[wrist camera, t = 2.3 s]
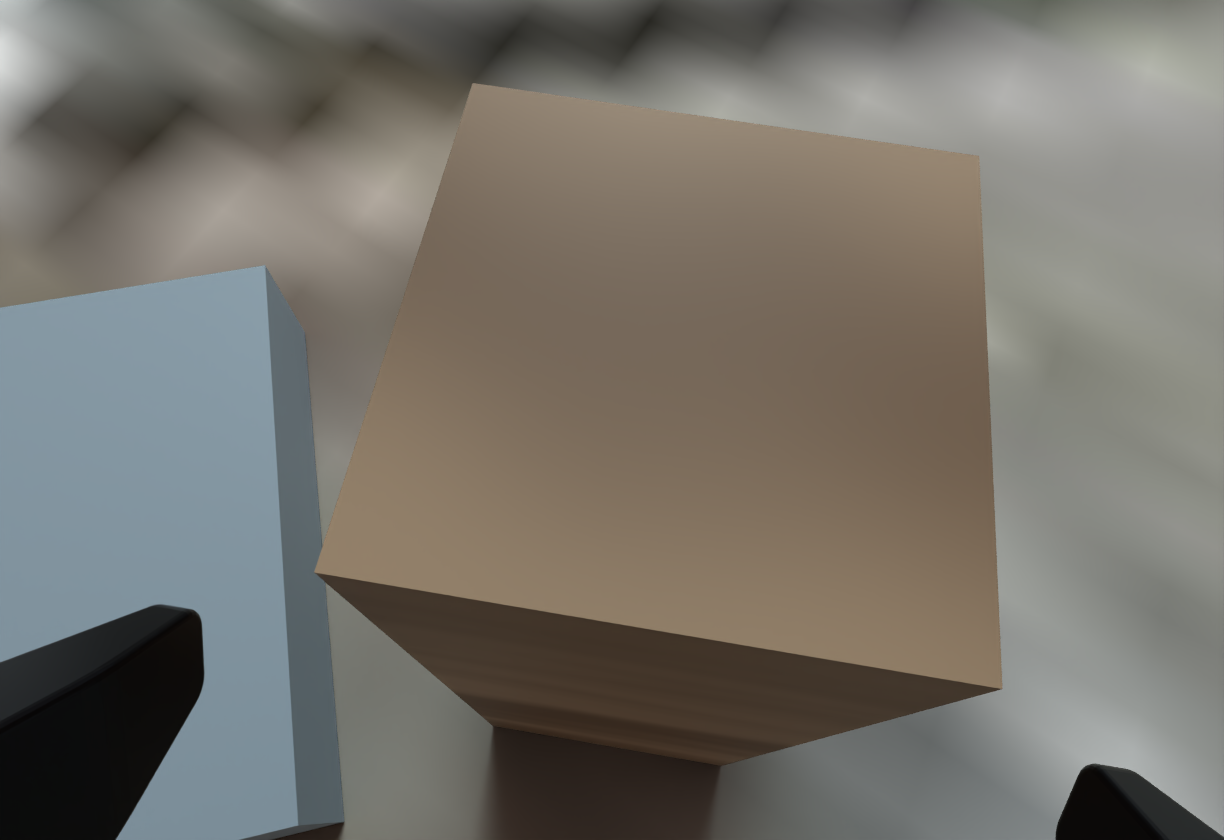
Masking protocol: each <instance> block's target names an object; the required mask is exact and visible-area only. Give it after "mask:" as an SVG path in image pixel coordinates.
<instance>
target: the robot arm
mask: <svg viewBox="0 0 1224 840" xmlns="http://www.w3.org/2000/svg"><path fill="white" fill-rule="evenodd" d="M204 674H205V672H204V652H203V631H202V621H201V618H200V615H199V614H198V613H197V612H196V611H195V610H193V609H189V608H183V607H177V606H171V605H165V604H156V605H152V606H149V607H147V608H144V609H141V610H139V611H136V612H133V613H131V614H128V615H125V616H123V617H120V618H117V619H115V620H112V621H109V622H107V623H104V624H101V625H99V626H96V627H93V628H91V629H88V630H85V631H83V632H80V633H77V634H75V635H72V636H69V637H66V638H64V639H61V640H58V641H56V642H53V643H50V644H48V645H45V646H42V647H40V648H37V649H34V650H32V651H29V652H26V653H24V654H21V655H18V656H16V657H13V658H10V659H8V660H5V661H2V662H0V840H116V839H117V837H118V836H119V834H120V832H121V831H122V829H123V827H124V826H125V824H126V823H127V821H128V819H129V818H130V816H131V815H132V813H133V811H134V809H135V808H136V806H137V804H138V802H139V801H140V799H141V797H142V796H143V794H144V792H145V790H146V789H147V787H148V785H149V784H150V782H151V780H152V778H153V777H154V775H155V773H156V771H157V770H158V768H159V766H160V765H161V763H162V761H163V759H164V758H165V756H166V754H167V752H168V751H169V749H170V747H171V746H172V744H173V742H174V740H175V739H176V737H177V735H178V733H179V732H180V730H181V728H182V727H183V725H184V723H185V721H186V720H187V718H188V716H189V714H190V713H191V711H192V709H193V708H194V706H195V704H196V702H197V700H198V698H199V696H200V694H201V691H202V688H203V683H204ZM1056 840H1224V837H1223V836H1221V835H1220V834H1219V833H1217V832H1216V831H1215V830H1213V829H1212V828H1210V827H1209V826H1208V825H1206V824H1205V823H1204V822H1202V821H1201V820H1200V819H1198V818H1197V817H1196V816H1194V815H1193V814H1192V813H1190V812H1189V811H1187V810H1186V809H1185V808H1183V807H1182V806H1181V805H1179V804H1178V803H1177V802H1175V801H1174V800H1173V799H1171V798H1170V797H1169V796H1167V795H1166V794H1164V793H1163V792H1162V791H1160V790H1159V789H1158V788H1156V787H1155V786H1154V785H1152V784H1151V783H1150V782H1148V781H1147V780H1146V779H1144V778H1143V777H1141V776H1140V775H1139V774H1137V773H1136V772H1133V771H1131V770H1128V769H1123V768H1118V767H1112V766H1106V765H1100V764H1090V765H1087V766H1085V767H1084V768H1083V769H1082V770H1081V771H1080V773H1079V775H1078V777H1077V779H1076V782H1075V784H1074V786H1073V789H1072V791H1071V793H1070V796H1069V798H1068V800H1067V803H1066V805H1065V807H1064V810H1063V812H1062V814H1061V817H1060V819H1059V822H1058V825H1057V829H1056Z"/></svg>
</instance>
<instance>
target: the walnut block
mask: <svg viewBox="0 0 1224 840" xmlns="http://www.w3.org/2000/svg"><path fill="white" fill-rule="evenodd" d="M314 573H315V574H317V575H318V576H319V577H320V578H321V579H322V580H324V581H325V582H326V583H327V584H328V585H329V586H331V587H332V588H333V589H334V590H335V591H336V592H338V593H339V594H340V595H341V596H342V597H343V598H345V599H346V600H347V601H348V602H349V603H350V604H352V605H353V606H354V607H355V608H356V609H357V610H359V611H360V612H361V613H362V614H363V615H364V616H366V617H367V618H368V619H369V620H370V621H371V622H373V623H374V624H375V625H376V626H377V627H378V628H379V629H381V630H382V631H383V632H384V633H385V634H386V635H388V636H389V637H390V638H391V639H392V640H393V641H395V642H396V643H397V644H398V645H399V646H400V647H402V648H403V649H404V650H405V651H406V652H407V653H409V654H410V655H411V656H412V657H413V658H414V659H416V660H417V661H418V662H419V663H420V664H421V665H423V666H424V667H425V668H426V669H427V670H428V671H430V672H431V673H432V674H433V675H434V676H435V677H437V678H438V679H439V680H440V681H441V682H442V683H444V684H445V685H446V686H447V687H448V688H449V689H451V690H452V691H453V692H454V693H455V694H456V695H458V696H459V697H460V698H461V699H462V700H463V701H465V702H466V703H467V704H468V705H469V706H470V707H472V708H473V709H474V710H475V711H476V712H477V713H479V714H480V715H481V716H482V717H483V718H484V719H486V720H487V721H488V722H489V723H490V724H491V725H493V726H497V727H503V728H508V729H514V730H520V731H525V732H531V733H537V734H543V735H548V736H554V737H560V738H565V739H571V740H577V741H582V742H588V743H594V744H600V745H605V746H611V747H617V748H622V749H628V750H634V751H639V752H645V753H651V754H657V755H662V756H668V757H674V758H679V759H685V760H691V761H696V762H702V763H708V764H714V765H719V766H722V765H726V764H730V763H733V762H737V761H740V760H744V759H748V758H751V757H755V756H759V755H762V754H766V753H770V752H773V751H777V750H781V749H784V748H788V747H792V746H795V745H799V744H803V743H806V742H810V741H814V740H817V739H821V738H825V737H828V736H832V735H836V734H839V733H843V732H847V731H850V730H854V729H858V728H861V727H865V726H869V725H872V724H876V723H880V722H883V721H887V720H891V719H894V718H898V717H902V716H905V715H909V714H913V713H916V712H920V711H924V710H927V709H931V708H935V707H938V706H942V705H946V704H949V703H953V702H957V701H960V700H964V699H968V698H971V697H975V696H978V695H982V694H986V693H989V692H993V691H997V690H1000V689H1002V671H1001V648H1000V625H999V602H998V579H997V556H996V533H995V510H994V487H993V464H992V441H991V418H990V395H989V372H988V350H987V327H986V304H985V281H984V258H983V235H982V212H981V189H980V166H979V156H975V155H968V154H961V153H955V152H948V151H941V150H934V149H927V148H920V147H913V146H906V145H899V144H892V143H885V142H878V141H871V140H864V139H857V138H850V137H843V136H836V135H829V134H822V133H815V132H808V131H802V130H795V129H788V128H781V127H774V126H767V125H760V124H753V123H746V122H739V121H732V120H725V119H718V118H711V117H704V116H697V115H690V114H683V113H676V112H669V111H662V110H656V109H649V108H642V107H635V106H628V105H621V104H614V103H607V102H600V101H593V100H586V99H579V98H572V97H565V96H558V95H551V94H544V93H537V92H530V91H523V90H516V89H509V88H503V87H496V86H489V85H482V84H475V83H473V84H472V87H471V90H470V93H469V96H468V99H467V102H466V106H465V109H464V112H463V115H462V118H461V121H460V124H459V127H458V130H457V133H456V136H455V139H454V143H453V146H452V149H451V152H450V155H449V158H448V161H447V164H446V167H445V170H444V173H443V176H442V180H441V183H440V186H439V189H438V192H437V195H436V198H435V201H434V204H433V207H432V210H431V213H430V217H429V220H428V223H427V226H426V229H425V232H424V235H423V238H422V241H421V244H420V247H419V250H418V254H417V257H416V260H415V263H414V266H413V269H412V272H411V275H410V278H409V281H408V284H407V287H406V291H405V294H404V297H403V300H402V303H401V306H400V309H399V312H398V315H397V318H396V321H395V324H394V328H393V331H392V334H391V337H390V340H389V343H388V346H387V349H386V352H385V355H384V358H383V361H382V365H381V368H380V371H379V374H378V377H377V380H376V383H375V386H374V389H373V392H372V395H371V399H370V402H369V405H368V408H367V411H366V414H365V417H364V420H363V423H362V426H361V429H360V432H359V436H358V439H357V442H356V445H355V448H354V451H353V454H352V457H351V460H350V463H349V466H348V469H347V473H346V476H345V479H344V482H343V485H342V488H341V491H340V494H339V497H338V500H337V503H336V506H335V510H334V513H333V516H332V519H331V522H330V525H329V528H328V531H327V534H326V537H325V540H324V543H323V547H322V550H321V553H320V556H319V559H318V562H317V565H316V568H315V571H314Z"/></svg>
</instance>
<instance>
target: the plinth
mask: <svg viewBox="0 0 1224 840" xmlns="http://www.w3.org/2000/svg"><path fill="white" fill-rule="evenodd" d="M321 550H322V539H321V527H320V514H319V502H318V489H317V477H316V464H315V452H314V440H313V427H312V415H311V402H310V390H309V378H308V365H307V353H306V340H305V332H304V330H303V329H302V327H301V325H300V324H299V322H298V320H297V318H296V317H295V315H294V313H293V312H292V310H291V308H290V307H289V305H288V303H287V302H286V300H285V298H284V297H283V295H282V293H281V291H280V290H279V288H278V286H277V285H276V283H275V281H274V280H273V278H272V276H271V275H270V273H269V271H268V270H267V268H266V266H265V265H264V266H258V267H252V268H246V269H239V270H233V271H227V272H221V273H215V274H208V275H202V276H196V277H190V278H183V279H177V280H171V281H165V282H158V283H152V284H146V285H140V286H133V287H127V288H121V289H115V290H109V291H102V292H96V293H90V294H84V295H77V296H71V297H65V298H59V299H52V300H46V301H40V302H34V303H28V304H21V305H15V306H9V307H3V308H0V662H2V661H5V660H8V659H10V658H13V657H16V656H18V655H21V654H24V653H26V652H29V651H32V650H34V649H37V648H40V647H42V646H45V645H48V644H50V643H53V642H56V641H58V640H61V639H64V638H66V637H69V636H72V635H75V634H77V633H80V632H83V631H85V630H88V629H91V628H93V627H96V626H99V625H101V624H104V623H107V622H109V621H112V620H115V619H117V618H120V617H123V616H125V615H128V614H131V613H133V612H136V611H139V610H141V609H144V608H147V607H149V606H152V605H156V604H165V605H171V606H177V607H183V608H189V609H193V610H195V611H196V612H197V613H198V614H199V615H200V618H201V621H202V631H203V652H204V672H205V674H204V683H203V688H202V691H201V694H200V696H199V698H198V700H197V702H196V704H195V706H194V708H193V709H192V711H191V713H190V714H189V716H188V718H187V720H186V721H185V723H184V725H183V727H182V728H181V730H180V732H179V733H178V735H177V737H176V739H175V740H174V742H173V744H172V746H171V747H170V749H169V751H168V752H167V754H166V756H165V758H164V759H163V761H162V763H161V765H160V766H159V768H158V770H157V771H156V773H155V775H154V777H153V778H152V780H151V782H150V784H149V785H148V787H147V789H146V790H145V792H144V794H143V796H142V797H141V799H140V801H139V802H138V804H137V806H136V808H135V809H134V811H133V813H132V815H131V816H130V818H129V819H128V821H127V823H126V824H125V826H124V827H123V829H122V831H121V832H120V834H119V836H118V837H117V839H116V840H272V839H276V838H280V837H284V836H288V835H292V834H297V833H301V832H305V831H309V830H313V829H317V828H321V827H325V826H329V825H333V824H337V823H341V822H344V812H343V800H342V787H341V775H340V762H339V750H338V738H337V725H336V713H335V700H334V688H333V675H332V663H331V651H330V638H329V626H328V613H327V601H326V589H325V581H324V580H322V579H321V578H320V577H319V576H318V575H317V574H315V573H314V571H315V568H316V565H317V562H318V559H319V556H320V553H321Z"/></svg>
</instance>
